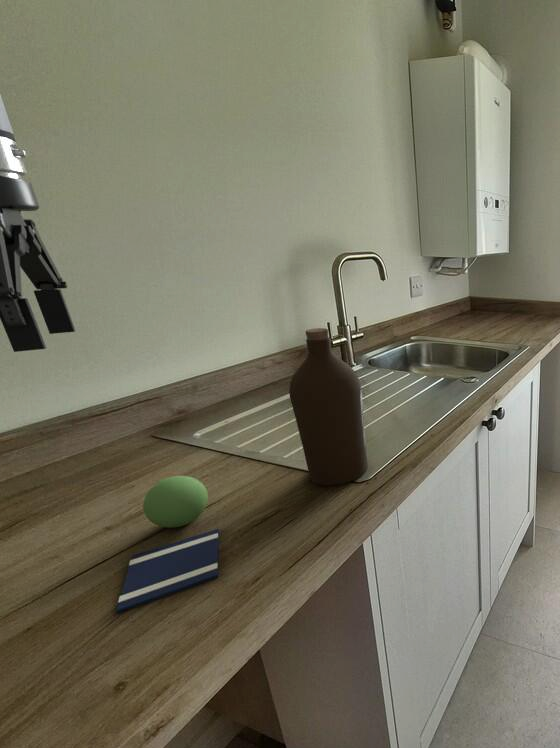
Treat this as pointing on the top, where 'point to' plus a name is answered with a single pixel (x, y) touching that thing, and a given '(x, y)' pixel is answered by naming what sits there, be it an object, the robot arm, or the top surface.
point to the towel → (170, 569)
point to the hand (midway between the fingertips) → (48, 340)
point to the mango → (175, 501)
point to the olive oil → (329, 413)
